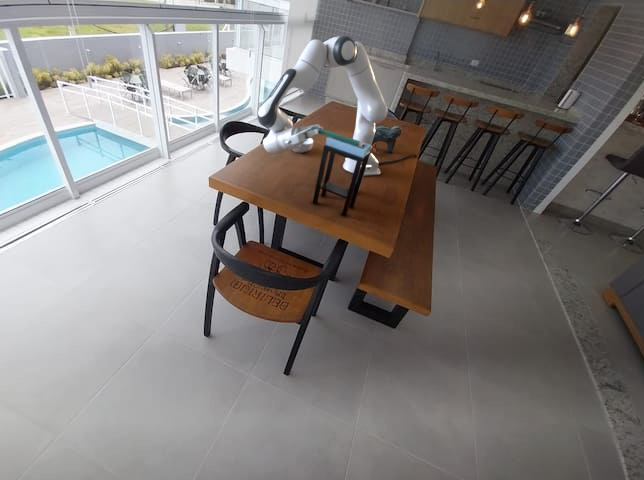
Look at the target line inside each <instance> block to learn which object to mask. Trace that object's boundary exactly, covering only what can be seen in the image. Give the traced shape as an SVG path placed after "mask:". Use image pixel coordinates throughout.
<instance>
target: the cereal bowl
mask: <svg viewBox="0 0 644 480" xmlns="http://www.w3.org/2000/svg"><path fill="white" fill-rule="evenodd" d="M313 146H314V139H313V137H311V138H309V139H307V141H305V142H304V143H303V144H302V145H301V147H299V148H296V149H292V151H293V152H295V153H299V154H300V153H304V152H308V151H311V149H312V148H313Z"/></svg>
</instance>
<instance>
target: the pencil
mask: <svg viewBox="0 0 644 480" xmlns="http://www.w3.org/2000/svg"><path fill="white" fill-rule="evenodd" d="M315 129H319V134H318V135H323V136H324V137H325V136H326V137H329V138H332V139H333V138H334V139H337V140H340V141H343V142H346V143H349V144H352V145H355V146H360V147H362V146H363V147H364V146H365V145H364V143H361V142H360V141H357V140H354V139H353V138H352V137H348V136H345V135H342V134H339V133H336V132H333V131H330V130H327V129H324V128H323V129H321V128H318V127H315V126H313V127H311V131H312V130H315Z"/></svg>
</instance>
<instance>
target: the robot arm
mask: <svg viewBox="0 0 644 480" xmlns="http://www.w3.org/2000/svg"><path fill="white" fill-rule="evenodd" d="M339 67H344V68H345V70H346V74H347V77H348V79H349V82H350V84H351V87H352V90H353V92H354V94H355V96H356V99H357V108H356V109H357V110H356V119H355V127H354V132H353V136H352V139H354V140H357V141H360V142H363V143H366V144H369V145H372V141H373V138H374V135H375V128H376V124H381V123H382V122H383V121H384V120H385V119H386V117H387V116H388V113H389V112H388V111H389V110H388V107H387V104H386V102H385V99H384V97H383V93H382V91H381V89H380V87H379V84H378V82H377V80H376V77H375V74H374V70H373V68H372V65H371V60H370V58H369V55H368V53H367V51H366V49H365V47H364V45H363V44H362V43H361V42H360V41H355V40H354V39H353V38H352V37H351V36H348V35H341V36H339V35H338V36H333V37H331V38H327V39H325V40H323V41H321V40H319V39H311V40H310V41H309V42H308V44H306V46H305V47H304V49H303V51H302V52H301V54H300V56H299V58H298V60H297V62H296V63H295V65H294V66H293V67H292V68H288V69H287V70H286V71H284V73H283V74H282V75H281V77H280V78H279V80H278V82H277V83H276V85H274V87H273V89H272V91H271V92H270V94H269V95H268V96H267V98H266V99H265V100H264V102H263V103H261V105H260V106H259V108H258V109H257V120H258V123H259V124H260V125H261V126H262V127H264V128H266V129H268V130H269V133H268V134H267V135H266V136H265V137H264V138H263V139H262V145H263V148H264V149H265V151H266V152H267V153H268V154H271V155H276V154H277V155H278V154H281V153H284V152H286V151H291V150H292V149H296V148H299V147H301V145H302V144H303V143H304V142H305V141H307V139H309V138H313V137H315V136H317V135H320V134H319V129H315V130H312V131H311V127H313V126H315V127H318V128H321V129H324V126H321V125H320V124H319V123H316V124H310V125H307V126H304V125H301V126H294V122H293V119H292V118H291V117H290V116H289V115H288V114H287V113H285V112H284V111H283V110H282V109H280V104H281V103H282V101H283V100H284V98H285V97H286V95H287V94H288V93H289V91H290V90H292V89H299V90H309V89H311V88H313V87H314V86H315V84H316V83H317V80H318V79H319V77H320V74H321V72H322V70H323V68H339ZM292 151H293V150H292ZM370 152H371V153H370V156H369V159H368V162H367V166H366V169H365V173H364V176H379V175H381V170H380V168H379V165H383V164H391V163H395V162H398V161H401V160H404V159H406V158H411V157H415V158H417V157H418V155H417V154H415V153H413V154H408V155H404V156H402V157H399V158H397V159H393V160H388V161H382V162H379V161H378V159H377V158H376V156H375V155H374V154H376V152H377V150H376V148H374V146H373V145H372V146H371V150H370ZM356 162H357V161H355V160H352V159H349V158H347V157H345V160H344V162H343V164H342V168H343V169H344V170H345V171H347V172H349V173H352V174H353V172H354V169H355V166H356ZM362 162H363V161H362ZM361 165H362V164H361ZM364 176H363V177H364Z"/></svg>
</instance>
